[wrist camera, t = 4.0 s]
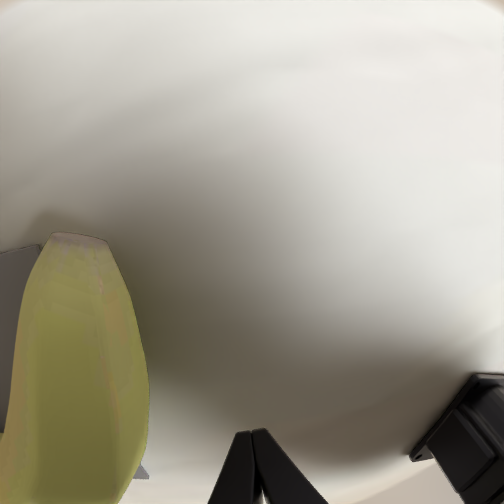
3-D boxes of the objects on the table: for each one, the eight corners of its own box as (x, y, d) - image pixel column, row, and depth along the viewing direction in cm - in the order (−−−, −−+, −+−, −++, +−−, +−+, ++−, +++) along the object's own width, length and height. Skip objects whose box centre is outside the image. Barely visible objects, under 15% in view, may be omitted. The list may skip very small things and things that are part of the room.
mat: (38, 244, 8) (35, 246, 8) (148, 476, 12) (148, 479, 11) (-89, 278, 7) (-92, 280, 7) (10, 455, 11) (9, 457, 11)
